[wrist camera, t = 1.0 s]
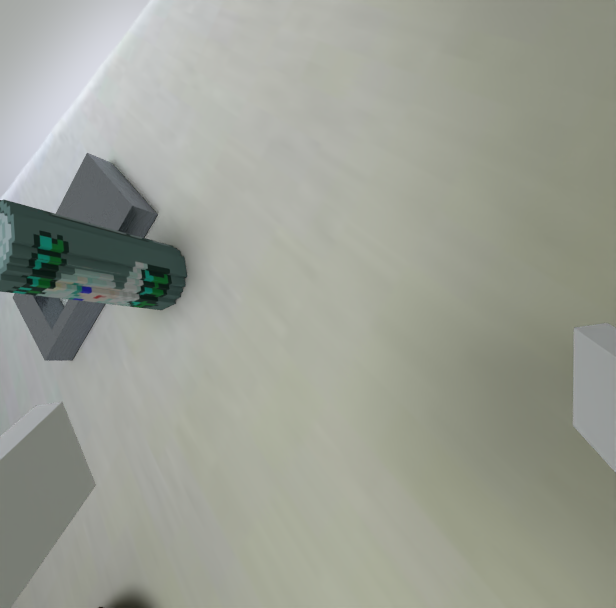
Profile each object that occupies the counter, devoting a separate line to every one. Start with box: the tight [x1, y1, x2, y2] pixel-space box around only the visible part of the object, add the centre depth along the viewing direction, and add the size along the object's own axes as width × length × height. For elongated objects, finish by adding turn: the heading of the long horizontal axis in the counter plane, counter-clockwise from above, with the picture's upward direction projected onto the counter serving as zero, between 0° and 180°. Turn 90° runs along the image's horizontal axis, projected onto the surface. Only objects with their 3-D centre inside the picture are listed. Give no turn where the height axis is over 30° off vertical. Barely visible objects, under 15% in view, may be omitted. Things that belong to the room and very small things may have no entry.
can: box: [0, 200, 187, 310], centre depth 37 cm, size 6×6×15 cm
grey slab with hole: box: [13, 153, 158, 360], centre depth 49 cm, size 20×11×3 cm, turn 138°
